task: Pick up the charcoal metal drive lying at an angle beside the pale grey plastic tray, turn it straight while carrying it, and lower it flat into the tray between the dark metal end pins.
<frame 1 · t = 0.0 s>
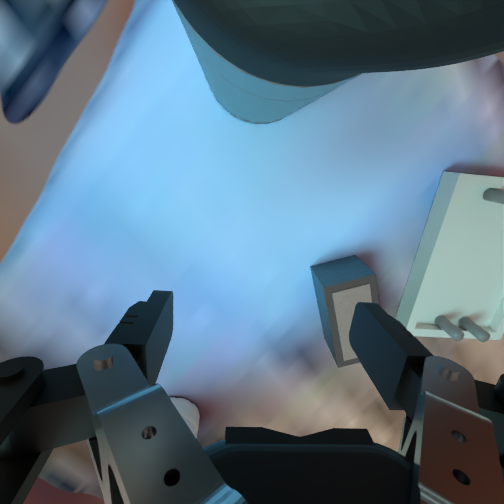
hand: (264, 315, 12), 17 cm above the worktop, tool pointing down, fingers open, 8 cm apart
water bottle: (169, 408, 37), on the worktop
drive: (338, 298, 32), on the worktop
tray: (466, 259, 31), on the worktop
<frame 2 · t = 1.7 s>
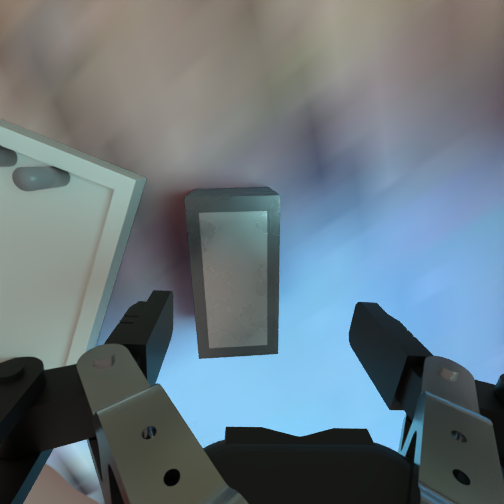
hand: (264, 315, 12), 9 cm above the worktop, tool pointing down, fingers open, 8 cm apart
drive: (235, 256, 21), on the worktop
tray: (25, 265, 20), on the worktop
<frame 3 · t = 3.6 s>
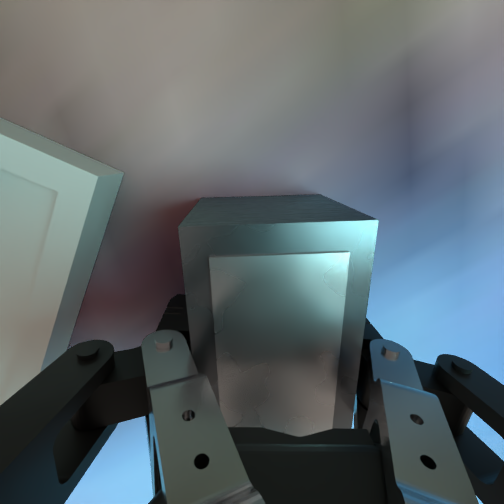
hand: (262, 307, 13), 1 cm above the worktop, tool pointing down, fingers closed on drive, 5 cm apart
drive: (262, 302, 13), on the worktop, touching gripper
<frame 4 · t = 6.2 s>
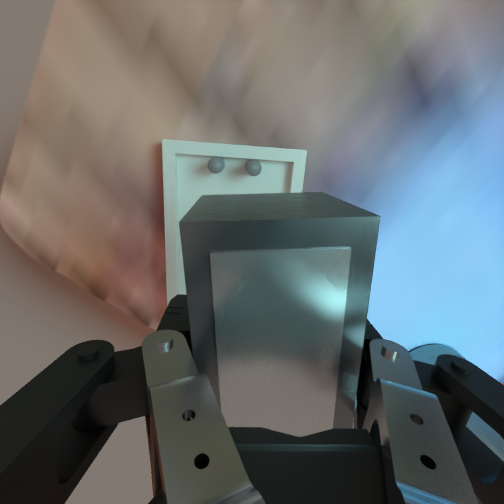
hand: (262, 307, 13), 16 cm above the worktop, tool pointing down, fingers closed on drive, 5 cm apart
drive: (263, 300, 13), point 15 cm above the worktop, touching gripper
tray: (231, 241, 28), on the worktop
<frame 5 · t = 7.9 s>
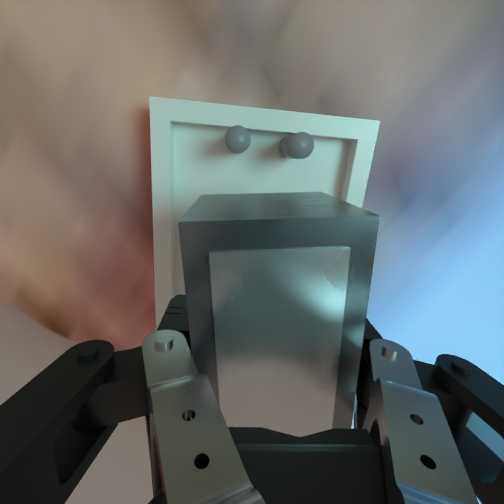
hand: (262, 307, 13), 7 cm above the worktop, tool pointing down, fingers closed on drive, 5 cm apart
drive: (262, 299, 13), point 6 cm above the worktop, touching gripper
tray: (251, 258, 19), on the worktop
when the fingers open (3 cm above the worktop, at t = 9.1 s): drive drops 1 cm, resting on tray.
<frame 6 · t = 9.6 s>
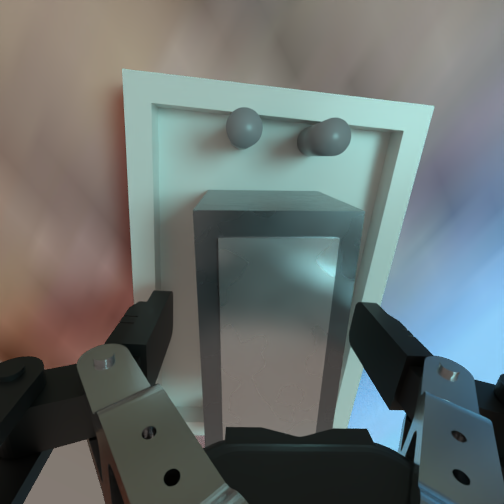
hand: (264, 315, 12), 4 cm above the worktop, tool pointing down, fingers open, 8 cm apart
drive: (260, 289, 14), point 1 cm above the worktop, touching tray
tray: (257, 280, 15), on the worktop
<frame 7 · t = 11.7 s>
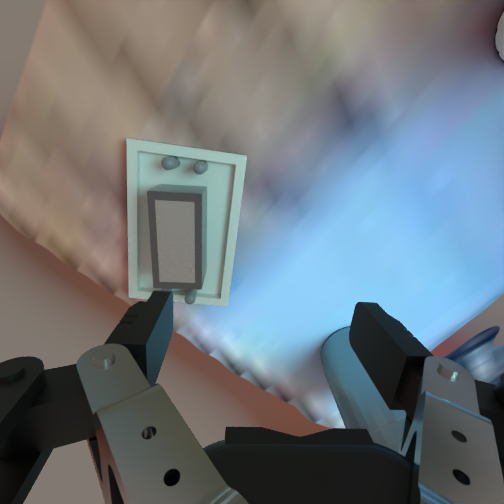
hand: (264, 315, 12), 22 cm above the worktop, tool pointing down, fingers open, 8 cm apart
drive: (185, 229, 32), point 1 cm above the worktop, touching tray
tray: (186, 227, 33), on the worktop
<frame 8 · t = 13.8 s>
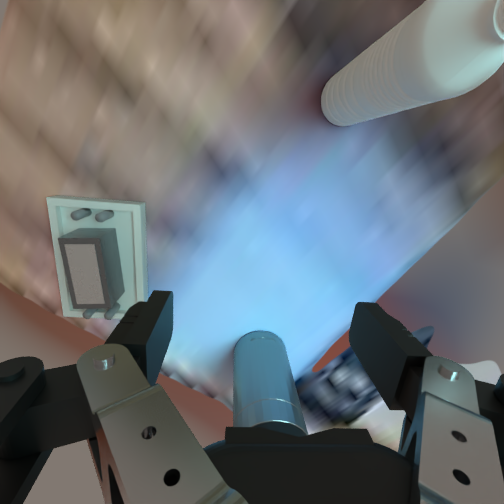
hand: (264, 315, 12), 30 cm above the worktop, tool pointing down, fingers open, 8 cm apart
water bottle: (348, 107, 37), on the worktop
drive: (102, 261, 41), point 1 cm above the worktop, touching tray
tray: (106, 258, 42), on the worktop
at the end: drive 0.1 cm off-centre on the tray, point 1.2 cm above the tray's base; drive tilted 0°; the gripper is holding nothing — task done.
